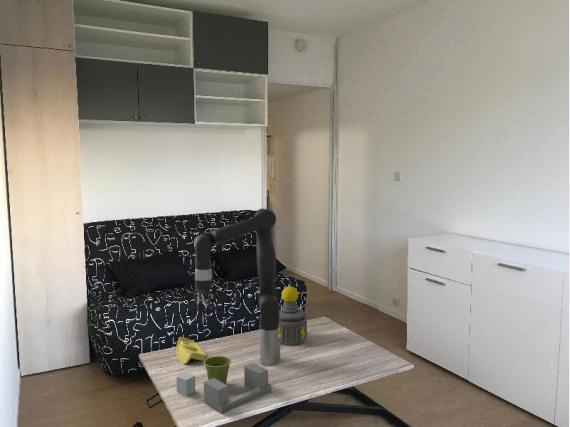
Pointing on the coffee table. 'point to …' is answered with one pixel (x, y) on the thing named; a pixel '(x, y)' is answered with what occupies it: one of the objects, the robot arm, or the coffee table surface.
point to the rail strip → (244, 398)
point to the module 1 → (185, 384)
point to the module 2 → (215, 393)
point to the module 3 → (255, 376)
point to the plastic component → (189, 350)
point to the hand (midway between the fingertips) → (204, 313)
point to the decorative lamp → (291, 319)
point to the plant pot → (217, 367)
